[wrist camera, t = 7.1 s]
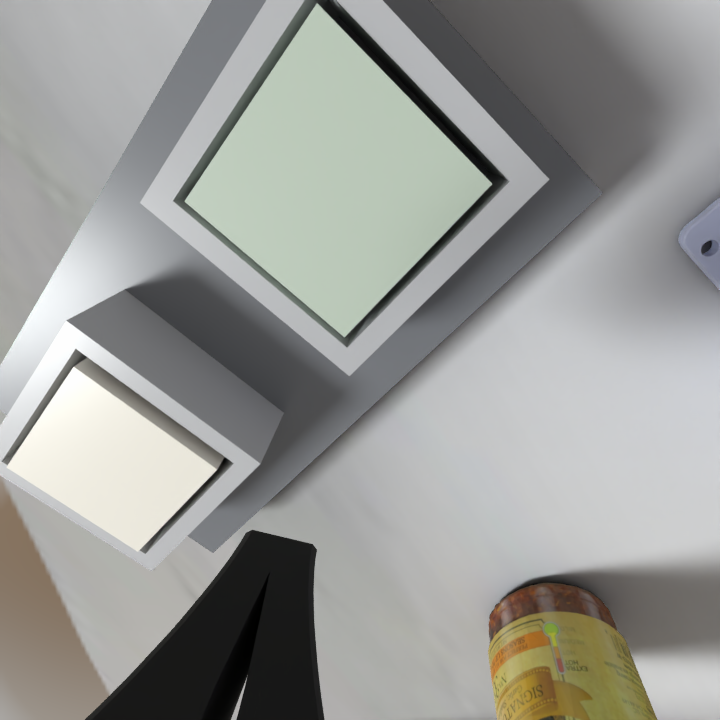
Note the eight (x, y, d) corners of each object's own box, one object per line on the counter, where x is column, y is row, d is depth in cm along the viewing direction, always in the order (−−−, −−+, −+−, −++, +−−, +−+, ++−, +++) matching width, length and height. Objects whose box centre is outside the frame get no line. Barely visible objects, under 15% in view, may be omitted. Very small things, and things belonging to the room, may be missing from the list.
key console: (575, 184, 16) (651, 207, 11) (232, 512, 23) (183, 615, 18) (316, -98, 13) (259, -239, 8) (28, 369, 21) (-93, 443, 16)
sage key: (482, 178, 12) (492, 184, 10) (351, 316, 14) (344, 337, 12) (329, 20, 11) (316, 2, 9) (210, 193, 13) (184, 201, 11)
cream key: (234, 439, 16) (217, 469, 15) (160, 518, 18) (137, 551, 16) (106, 344, 15) (73, 366, 13) (40, 438, 17) (6, 467, 15)
